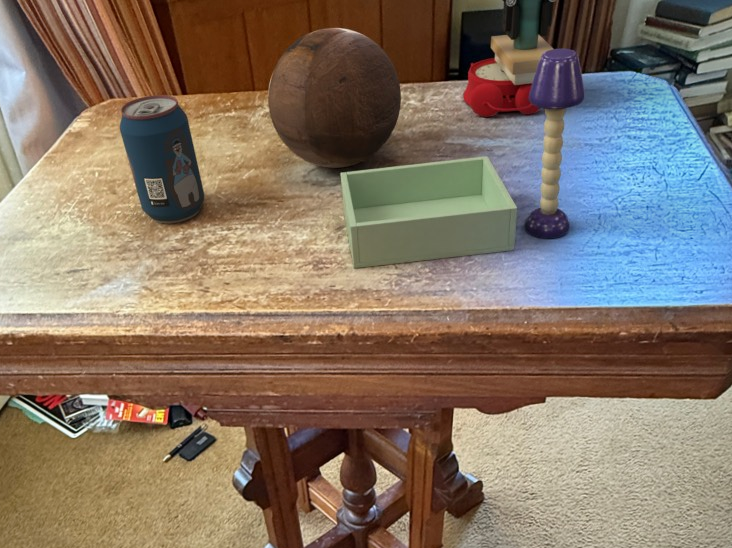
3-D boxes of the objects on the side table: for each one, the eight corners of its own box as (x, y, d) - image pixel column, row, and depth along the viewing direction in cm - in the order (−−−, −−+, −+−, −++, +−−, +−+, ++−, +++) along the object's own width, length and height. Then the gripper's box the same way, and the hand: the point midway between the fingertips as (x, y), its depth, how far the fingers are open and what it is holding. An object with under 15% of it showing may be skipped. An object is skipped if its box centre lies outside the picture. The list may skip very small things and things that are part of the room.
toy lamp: (519, 239, 69) (534, 63, 59) (517, 215, 73) (530, 45, 62) (571, 238, 68) (596, 60, 58) (566, 214, 72) (588, 42, 62)
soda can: (157, 196, 83) (130, 93, 76) (214, 196, 82) (192, 91, 74) (134, 226, 78) (103, 119, 70) (195, 227, 76) (169, 118, 69)
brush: (490, 59, 97) (494, -21, 91) (533, 54, 97) (540, -26, 91) (511, 87, 89) (517, 0, 83) (559, 81, 89) (569, -5, 83)
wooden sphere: (421, 143, 88) (420, 14, 79) (370, 199, 78) (361, 58, 69) (315, 130, 94) (302, 8, 85) (254, 180, 84) (231, 48, 75)
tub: (485, 195, 76) (487, 155, 74) (514, 250, 68) (517, 207, 65) (343, 211, 76) (340, 172, 73) (353, 268, 67) (350, 226, 65)
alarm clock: (535, 53, 99) (559, 63, 86) (533, 100, 102) (556, 117, 88) (459, 59, 100) (471, 69, 87) (459, 105, 103) (470, 123, 89)
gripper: (473, -127, 76) (467, 51, 87) (626, -143, 76) (601, 36, 87) (458, -134, 82) (455, 33, 93) (600, -149, 82) (580, 20, 93)
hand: (526, 33), depth 90 cm, fingers closed on brush, 3 cm apart
